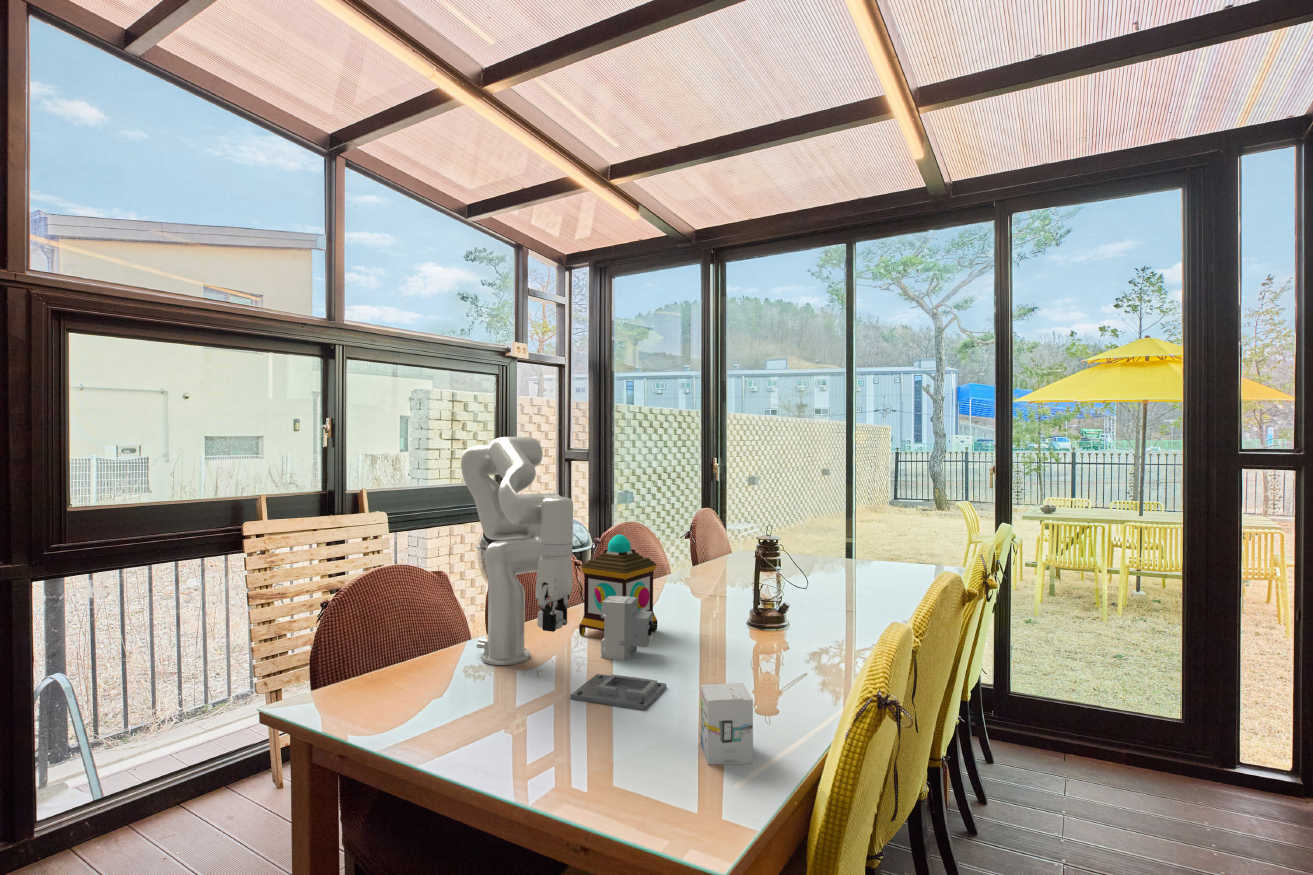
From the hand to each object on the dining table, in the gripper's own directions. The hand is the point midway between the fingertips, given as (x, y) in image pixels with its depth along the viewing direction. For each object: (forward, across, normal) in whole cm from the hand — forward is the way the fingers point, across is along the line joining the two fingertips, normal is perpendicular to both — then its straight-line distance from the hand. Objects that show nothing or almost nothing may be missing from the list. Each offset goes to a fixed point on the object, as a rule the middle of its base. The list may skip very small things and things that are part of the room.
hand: (554, 626), depth 154 cm
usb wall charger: (+1, 0, 0) cm, 1 cm away
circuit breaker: (+15, -28, +8) cm, 33 cm away
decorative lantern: (+15, -46, -3) cm, 49 cm away
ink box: (+14, +18, +46) cm, 51 cm away
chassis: (+14, -2, +16) cm, 21 cm away
